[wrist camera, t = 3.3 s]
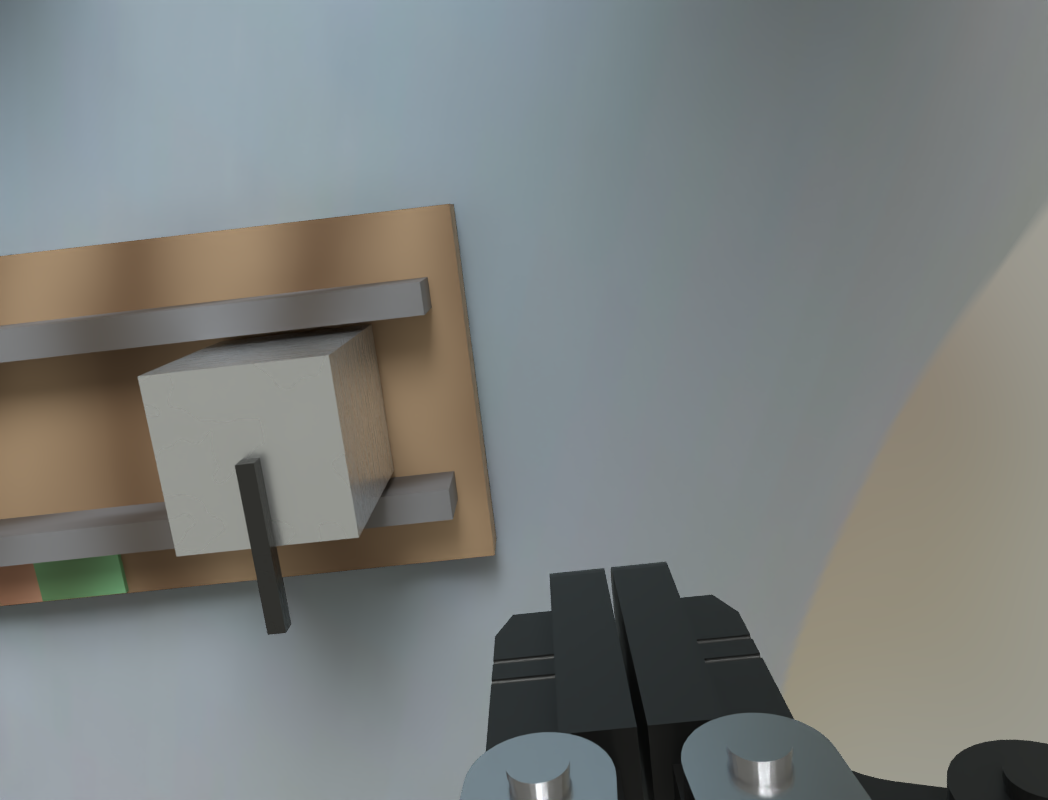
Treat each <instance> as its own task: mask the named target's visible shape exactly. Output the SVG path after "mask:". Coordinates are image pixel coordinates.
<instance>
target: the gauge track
mask: <svg viewBox="0 0 1048 800" xmlns="http://www.w3.org/2000/svg"><path fill="white" fill-rule="evenodd" d="M370 324H372V330H373V337H374V343H375V350H376V357H377V363H378V370H379V376H380V383H381V389H382V396H383V402H384V409H385V415H386V422H387V428H388V435H389V441H390V448H391V454H392V461H393V467H394V471H393V473H392V475H391V477H390V479H389V481H388V483H387V485H386V487H385V489H384V490H383V492H382V494H381V496H380V498H379V500H378V502H377V504H376V506H375V508H374V510H373V511H372V513H371V515H370V517H369V519H368V521H367V523H366V525H365V527H364V529H363V531H362V532H361V534H360V536H359V538H350V539H340V540H331V541H321V542H311V543H302V544H292V545H283V546H277V552H278V557H279V562H280V567H281V573H282V577H289V576H299V575H308V574H318V573H328V572H338V571H347V570H357V569H367V568H376V567H386V566H396V565H406V564H415V563H425V562H435V561H444V560H454V559H464V558H474V557H483V556H493V555H495V547H496V532H495V524H494V517H493V509H492V501H491V493H490V485H489V478H488V470H487V462H486V454H485V446H484V439H483V431H482V423H481V415H480V407H479V399H478V392H477V384H476V376H475V368H474V360H473V353H472V345H471V337H470V329H469V321H468V314H467V306H466V298H465V290H464V282H463V274H462V267H461V259H460V251H459V243H458V235H457V228H456V220H455V212H454V204H445V205H437V206H428V207H419V208H411V209H402V210H394V211H385V212H377V213H368V214H359V215H351V216H342V217H334V218H325V219H316V220H308V221H299V222H291V223H282V224H274V225H265V226H256V227H248V228H239V229H231V230H222V231H213V232H205V233H196V234H188V235H179V236H171V237H162V238H153V239H145V240H136V241H128V242H119V243H111V244H102V245H93V246H85V247H76V248H68V249H59V250H50V251H42V252H33V253H25V254H16V255H8V256H0V606H7V605H17V604H27V603H36V602H46V601H56V600H66V599H75V598H85V597H95V596H104V595H114V594H124V593H134V592H143V591H153V590H163V589H172V588H182V587H192V586H202V585H211V584H221V583H231V582H240V581H250V580H257V577H256V572H255V567H254V562H253V556H252V551H251V549H244V550H235V551H225V552H215V553H206V554H196V555H187V556H176V552H175V547H174V542H173V538H172V533H171V529H170V524H169V519H168V515H167V510H166V506H165V501H164V496H163V492H162V487H161V483H160V478H159V473H158V469H157V464H156V459H155V455H154V450H153V446H152V441H151V436H150V432H149V427H148V423H147V418H146V413H145V409H144V404H143V400H142V395H141V390H140V386H139V381H138V376H140V375H142V374H144V373H147V372H149V371H152V370H154V369H156V368H159V367H161V366H163V365H166V364H168V363H170V362H173V361H175V360H178V359H180V358H182V357H185V356H187V355H189V354H192V353H194V352H196V351H199V350H201V349H204V348H206V347H208V346H211V345H213V344H215V343H218V342H220V341H227V340H236V339H245V338H254V337H263V336H272V335H281V334H290V333H299V332H308V331H317V330H325V329H334V328H343V327H352V326H361V325H370Z"/></svg>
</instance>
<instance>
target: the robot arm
mask: <svg viewBox="0 0 1048 800" xmlns="http://www.w3.org/2000/svg"><path fill="white" fill-rule="evenodd" d="M611 583H612V594H613V604H614V614H615V619H614V614H613V609H612V604H611V599H610V594H609V589H608V585H607V580H606V575H605V570H604V568H602V569H592V570H582V571H572V572H562V573H553V574H550V590H551V609H552V611H547V612H537V613H527V614H517V615H513V616H512V617H511V618H510V619H509V620H508V622H507V623H506V624H505V625H504V626H503V628H502V629H501V630H500V631H499V633H498V634H497V635H496V636H495V646H494V659H493V661H494V665H493V671H492V685H491V695H490V707H489V720H488V732H487V744H486V752H485V753H484V754H483V755H482V756H480V757H479V758H478V759H477V760H476V761H475V763H474V764H473V765H472V766H471V768H470V769H469V771H468V773H467V775H466V777H465V780H464V784H463V788H462V793H461V797H460V800H1048V744H1045V743H1039V742H1033V741H1024V740H997V741H989V742H984V743H980V744H976V745H973V746H971V747H969V748H967V749H965V750H963V751H962V752H960V753H959V754H957V755H956V756H955V758H954V759H953V760H952V761H951V763H950V766H949V768H948V771H947V788H942V787H934V786H927V785H919V784H911V783H903V782H895V781H889V780H883V779H878V778H874V777H870V776H866V775H863V774H860V773H857V772H854V771H851V769H850V768H849V766H848V765H847V764H846V762H845V761H844V759H843V758H842V756H841V755H840V754H839V752H838V751H837V749H836V748H835V747H834V746H833V744H832V743H831V742H830V741H829V740H828V739H827V738H826V737H825V736H824V735H822V734H821V733H820V732H819V731H817V730H815V729H814V728H812V727H810V726H808V725H806V724H804V723H802V722H800V721H797V720H794V718H793V716H792V714H791V712H790V710H789V709H788V707H787V705H786V703H785V701H784V699H783V697H782V695H781V693H780V691H779V689H778V687H777V685H776V683H775V682H774V680H773V678H772V676H771V674H770V672H769V670H768V668H767V666H766V664H765V662H764V660H763V658H760V653H759V651H758V649H757V647H756V645H755V643H754V641H753V639H751V638H750V633H749V631H748V630H747V628H746V626H745V624H744V622H743V620H742V618H741V616H740V614H739V612H738V611H736V610H735V609H733V608H732V607H730V606H729V605H727V604H726V603H724V602H723V601H721V600H719V599H718V598H716V597H715V596H713V595H704V596H694V597H684V598H680V596H679V593H678V591H677V588H676V585H675V583H674V580H673V578H672V575H671V573H670V570H669V567H668V565H667V563H666V562H659V563H649V564H639V565H630V566H620V567H611Z"/></svg>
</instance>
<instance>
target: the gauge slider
mask: <svg viewBox="0 0 1048 800" xmlns="http://www.w3.org/2000/svg"><path fill="white" fill-rule="evenodd" d="M138 381H139V386H140V390H141V395H142V400H143V404H144V409H145V413H146V418H147V423H148V427H149V432H150V436H151V441H152V446H153V450H154V455H155V459H156V464H157V469H158V473H159V478H160V483H161V487H162V492H163V496H164V501H165V506H166V510H167V515H168V519H169V524H170V529H171V533H172V538H173V542H174V547H175V552H176V556H187V555H196V554H206V553H215V552H225V551H235V550H244V549H251V551H252V556H253V562H254V567H255V572H256V577H257V582H258V587H259V592H260V597H261V602H262V607H263V613H264V618H265V623H266V628H267V633H268V635H269V634H278V633H286V632H287V630H288V628H289V627H290V625H291V620H290V615H289V610H288V605H287V599H286V594H285V589H284V583H283V578H282V573H281V567H280V562H279V557H278V552H277V546H283V545H292V544H302V543H311V542H321V541H331V540H340V539H350V538H359V536H360V534H361V532H362V531H363V529H364V527H365V525H366V523H367V521H368V519H369V517H370V515H371V513H372V511H373V510H374V508H375V506H376V504H377V502H378V500H379V498H380V496H381V494H382V492H383V490H384V489H385V487H386V485H387V483H388V481H389V479H390V477H391V475H392V473H393V471H394V467H393V461H392V454H391V448H390V441H389V435H388V428H387V422H386V415H385V409H384V402H383V396H382V389H381V383H380V376H379V370H378V363H377V357H376V350H375V343H374V337H373V330H372V324H370V325H361V326H352V327H343V328H334V329H325V330H317V331H308V332H299V333H290V334H281V335H272V336H263V337H254V338H245V339H236V340H227V341H220V342H218V343H215V344H213V345H211V346H208V347H206V348H204V349H201V350H199V351H196V352H194V353H192V354H189V355H187V356H185V357H182V358H180V359H178V360H175V361H173V362H170V363H168V364H166V365H163V366H161V367H159V368H156V369H154V370H152V371H149V372H147V373H144V374H142V375H140V376H138Z"/></svg>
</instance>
